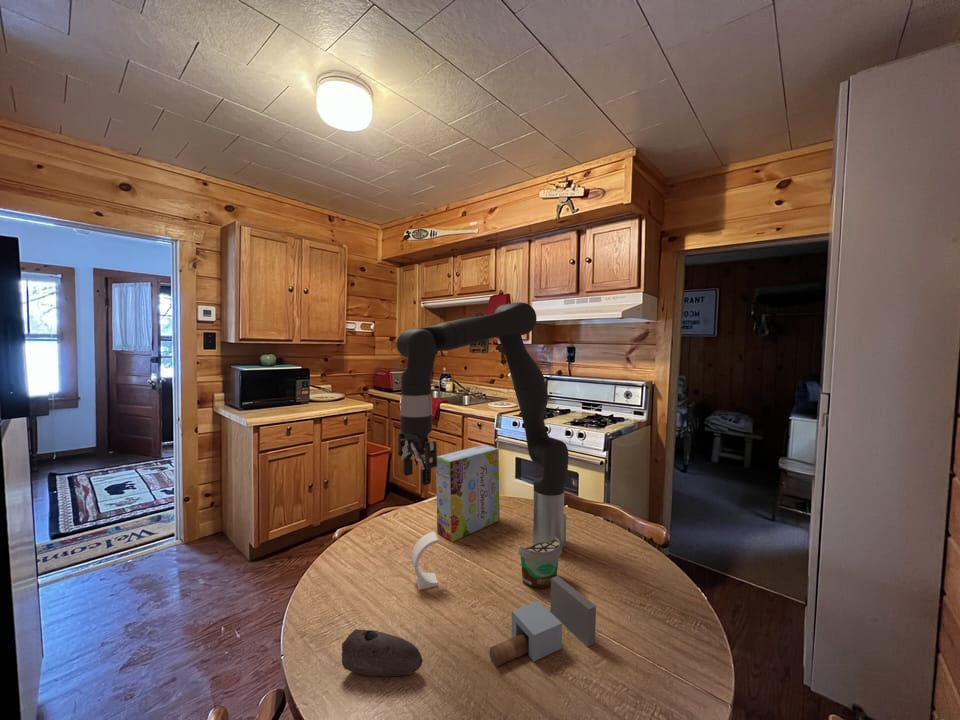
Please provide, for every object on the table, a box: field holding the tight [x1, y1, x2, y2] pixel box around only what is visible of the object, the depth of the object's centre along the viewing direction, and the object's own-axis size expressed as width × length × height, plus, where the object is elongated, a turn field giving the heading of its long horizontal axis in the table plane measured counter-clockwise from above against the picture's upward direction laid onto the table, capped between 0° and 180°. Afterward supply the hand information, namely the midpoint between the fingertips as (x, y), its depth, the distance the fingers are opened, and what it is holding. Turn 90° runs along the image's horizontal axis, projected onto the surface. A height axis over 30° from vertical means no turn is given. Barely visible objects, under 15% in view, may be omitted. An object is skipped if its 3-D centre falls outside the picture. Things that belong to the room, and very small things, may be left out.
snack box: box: [435, 444, 501, 543], centre depth 132 cm, size 22×9×26 cm, turn 133°
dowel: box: [488, 633, 529, 668], centre depth 78 cm, size 8×3×3 cm, turn 119°
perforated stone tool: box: [341, 629, 423, 677], centre depth 74 cm, size 15×5×7 cm, turn 82°
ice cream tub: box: [518, 536, 563, 591], centre depth 101 cm, size 12×6×10 cm, turn 117°
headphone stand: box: [411, 531, 439, 591], centre depth 101 cm, size 5×6×12 cm
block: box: [511, 600, 563, 662], centre depth 82 cm, size 7×8×5 cm
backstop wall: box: [549, 575, 597, 648], centre depth 86 cm, size 2×12×8 cm, turn 29°
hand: (416, 479), depth 95 cm, fingers open, 8 cm apart
